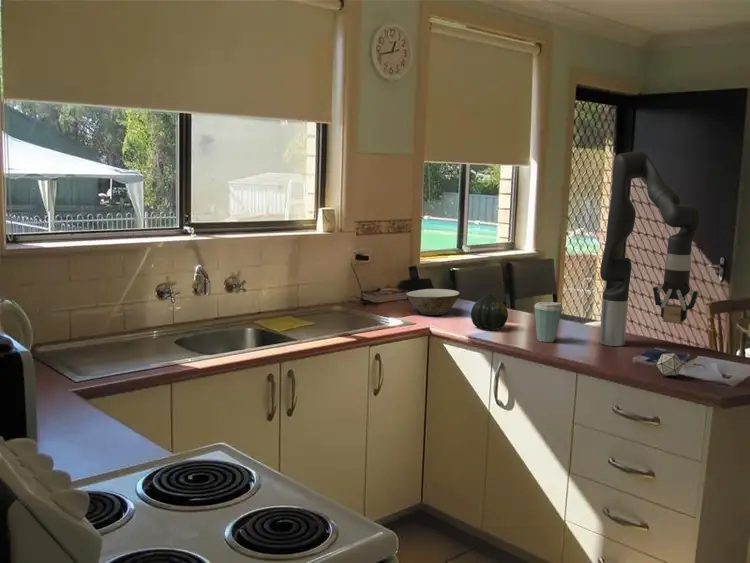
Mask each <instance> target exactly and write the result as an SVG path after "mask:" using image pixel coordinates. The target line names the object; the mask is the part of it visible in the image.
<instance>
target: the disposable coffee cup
mask: <svg viewBox="0 0 750 563" xmlns="http://www.w3.org/2000/svg"><path fill="white" fill-rule="evenodd" d="M563 310H564V309H563V306H562V303H561V302H556V301H555V302H554V301H553V302H552V301H551V302H550V301H541V302H536V303H535V304H534V315H535V327H536V329H535V330H536V338H537V340H538V341H539V342H542V341H543V342H542V343H553V342H554V341H555V340H556V336H557V332H558V328H559V324H560V319H561V314H562V311H563Z"/></svg>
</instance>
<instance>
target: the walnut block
mask: <svg viewBox="0 0 750 563" xmlns="http://www.w3.org/2000/svg"><path fill="white" fill-rule="evenodd" d="M681 312H682V307H681V304H680V305H679V304H671V303H668V304H667V305H666V306H664V316H663V319H662V322H663V323H670V324H679V325H680V324H681V323H682V322H681Z"/></svg>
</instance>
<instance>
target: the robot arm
mask: <svg viewBox="0 0 750 563" xmlns="http://www.w3.org/2000/svg"><path fill="white" fill-rule="evenodd" d="M613 159H614V160H613V163H612V178H611V197H610V205H609V211H608V217H607V224H606V236H605V242H604V243H605V244H604V248H603V253H602V257H601V264H600V270H599V272H600V273H599V274H600V279H601V280H602V281H603V282H604V281H605V282H615V283H619V284H617V285H616V286H614V287H612V288H609V289H605V290H604V291H603V292H602V302H601V316H600V329H599V343H600V344H601V345H605V346H611V347H622V346H625V344H626V331H627V320H628V304H629V292H630V282H631V275H632V261H631V258H629V257H619V256H614V255H615V253H616V251H617V250H618V249H619V247H620V246H621V244H622V243H624V242H625V241H626V240H627V238H628V237H629V236H630V235H631V234H632V233H633V231H634V229H635V222H636V221H635V220H636V215H637V214H636V208H635V206H634V204H633V202H632V201H631V199H630V197H629V195H628V193H627V183H628V180H633V179H639V178H642V179H644V180H645V181H646V182H647V195H648V197H649V200H650V201H651V202H652V203H653V205H655V206H656V208H658V209H659V212H660V215H661V217H662V219H663V221H664V223H665V224H666V225H667V226H669V227H671V228H680V229H679V231H678V232H677V233H676V234H672V235H670V236H669V237H668V239H667V240H668V241H667V253H666V258H665V261H664V262H665V263H664V276H663V283H662V285H661V286H658V285H657V286H656V285H655V286H654V287H653V288H652V291H653V297H654V298H653V299H654V303H655V305H656V306H658V307H660V318H662V320H663V316H664V306H666V305H667V304H669V302H670V300H677V301H678V302H679V304H680V306H681V307H682V312H681V323H683V322H685V321H686V320H687V318H688V316H687V315H688V310H692V309H693V308H694V307H695V305H696V301H697V299H698V296H699V293H700V291H699V290H697V289H696V290H694V289H691V287H690V277H691V276H690V275H691V266H692V257H691V256H692V247H693V246H692V243H693V240H694V238H695V235H696V232H697V229H698V228H699V227H698V226H699V224H700V221H701V214H700V210H699V208H698V207H697V206H695V205H693V204H681V203H680V202H681V199H680V197H679V195H678V194H677V193H676V192H675V191H674V190H673V189H672V188H671V186H670V185H668V184H667V183H666V182H665V180H664V179H663V177H662V176H661V174H660V173H659V171H658V169H657V168H656V167H655V165H654V163H653V162H652V160H651V158H650V157H649V156H648V154H647V153H645V152H643V151H641V150H635V151H629V152H622V153H618V154H617V155H616V156H615V157H614V158H613ZM662 291H663V293H664V295H665V296H664V298H663V300H661V294H660V293H662ZM688 294H689V295H690V297H691V298H690V301H689V304H687V299H686V296H687V295H688Z"/></svg>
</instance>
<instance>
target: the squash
mask: <svg viewBox="0 0 750 563" xmlns="http://www.w3.org/2000/svg"><path fill="white" fill-rule="evenodd" d="M508 317H509V312H508V309H507V306H506V305H505V304H504V302H502V301H501V300H500V299H499V298H498V297H496V296H495V294H493V293H492V292H490V293H487V294H485V295H484V296H482V297H480V298H479V299H478V300H477V301H475V303H474V304H473V306H472V308H471V310H470V318H471V322H472V324H473V325H474V327H475V328H478V329H486V328H487V329H489V330H491V331H496V330H499V329H502V328H503V327H505V325H506V323H507V322H508V319H509V318H508Z"/></svg>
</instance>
